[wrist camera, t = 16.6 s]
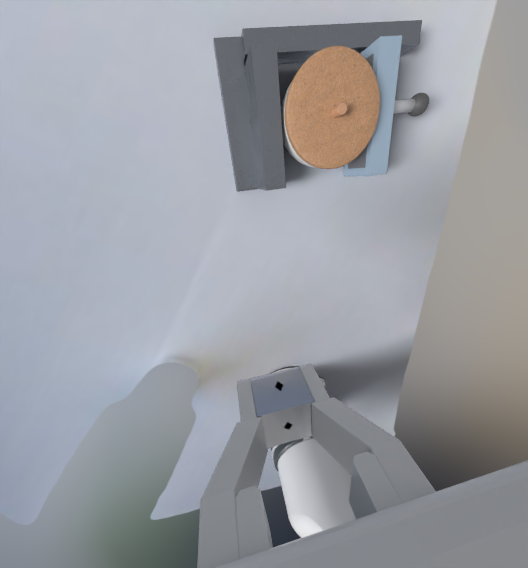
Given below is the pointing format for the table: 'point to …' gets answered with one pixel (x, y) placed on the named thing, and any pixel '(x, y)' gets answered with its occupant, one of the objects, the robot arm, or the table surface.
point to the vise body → (265, 87)
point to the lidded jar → (330, 108)
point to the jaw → (384, 106)
